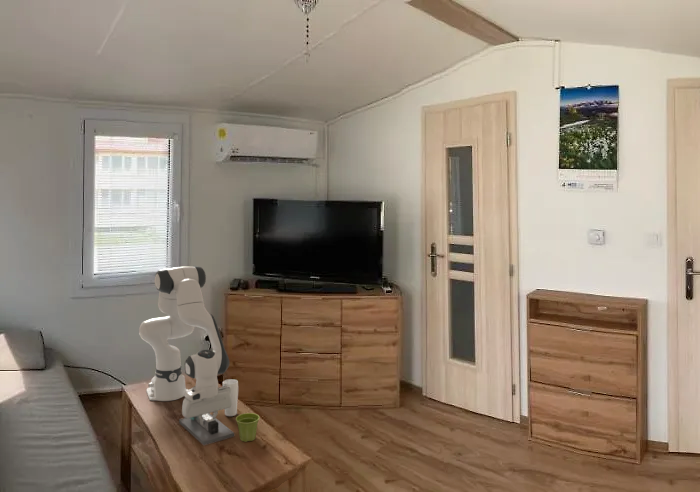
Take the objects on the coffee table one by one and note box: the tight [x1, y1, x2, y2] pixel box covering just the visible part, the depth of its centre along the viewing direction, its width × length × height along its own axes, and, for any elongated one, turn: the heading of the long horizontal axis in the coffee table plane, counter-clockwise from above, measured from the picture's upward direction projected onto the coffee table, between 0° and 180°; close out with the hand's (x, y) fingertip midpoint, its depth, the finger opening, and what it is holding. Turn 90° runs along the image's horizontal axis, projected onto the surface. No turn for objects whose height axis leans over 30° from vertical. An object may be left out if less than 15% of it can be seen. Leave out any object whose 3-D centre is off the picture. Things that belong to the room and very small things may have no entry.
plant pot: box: [235, 412, 261, 443], centre depth 217 cm, size 9×9×9 cm
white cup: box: [222, 378, 239, 417], centre depth 240 cm, size 7×7×15 cm
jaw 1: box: [196, 414, 215, 434], centre depth 224 cm, size 16×2×4 cm, turn 38°
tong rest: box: [178, 413, 235, 446], centre depth 225 cm, size 26×13×4 cm, turn 38°
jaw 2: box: [204, 414, 219, 433], centre depth 224 cm, size 16×2×4 cm, turn 38°
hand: (207, 422), depth 223 cm, fingers open, 3 cm apart
